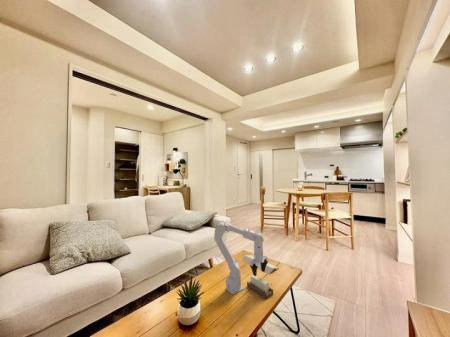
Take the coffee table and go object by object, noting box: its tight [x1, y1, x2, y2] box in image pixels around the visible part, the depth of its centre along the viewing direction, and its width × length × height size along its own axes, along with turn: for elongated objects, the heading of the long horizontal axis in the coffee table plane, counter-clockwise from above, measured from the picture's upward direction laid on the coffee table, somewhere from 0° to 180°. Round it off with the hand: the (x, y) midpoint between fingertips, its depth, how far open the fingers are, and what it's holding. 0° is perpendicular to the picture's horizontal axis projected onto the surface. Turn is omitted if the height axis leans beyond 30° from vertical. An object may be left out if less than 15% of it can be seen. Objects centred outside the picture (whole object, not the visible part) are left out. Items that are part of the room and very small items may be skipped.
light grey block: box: [250, 274, 270, 294], centre depth 120 cm, size 4×12×6 cm, turn 37°
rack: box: [246, 280, 274, 300], centre depth 120 cm, size 7×16×3 cm, turn 37°
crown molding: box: [241, 254, 280, 275], centre depth 154 cm, size 29×12×4 cm, turn 39°
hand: (258, 273), depth 122 cm, fingers open, 7 cm apart
